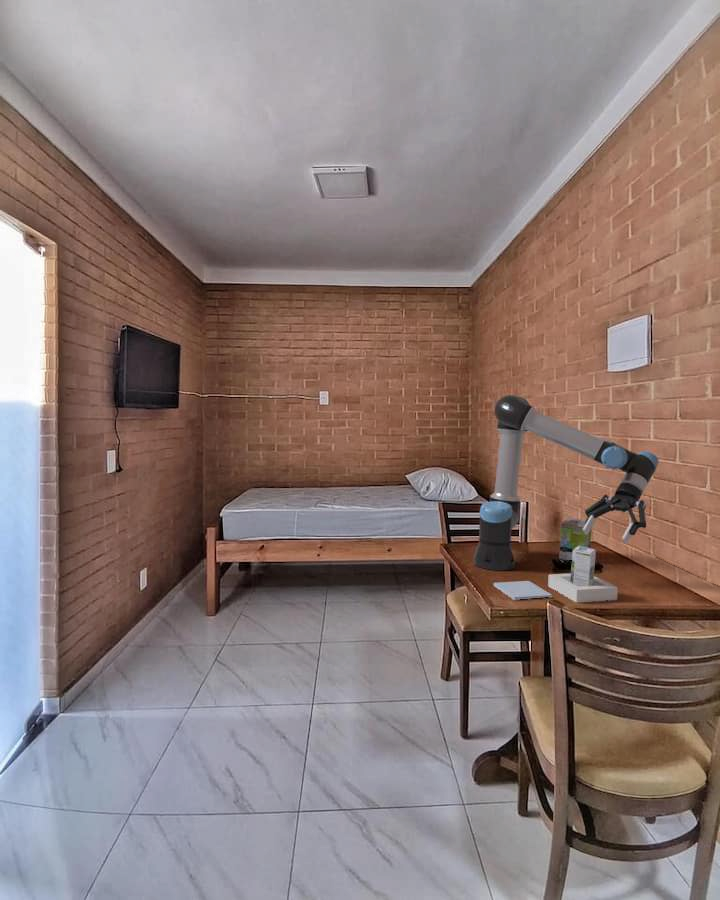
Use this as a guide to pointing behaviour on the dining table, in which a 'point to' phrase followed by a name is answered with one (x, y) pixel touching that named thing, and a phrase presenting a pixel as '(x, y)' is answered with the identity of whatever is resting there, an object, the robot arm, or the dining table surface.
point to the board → (522, 590)
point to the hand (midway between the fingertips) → (603, 536)
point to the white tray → (582, 589)
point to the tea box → (573, 537)
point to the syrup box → (583, 566)
